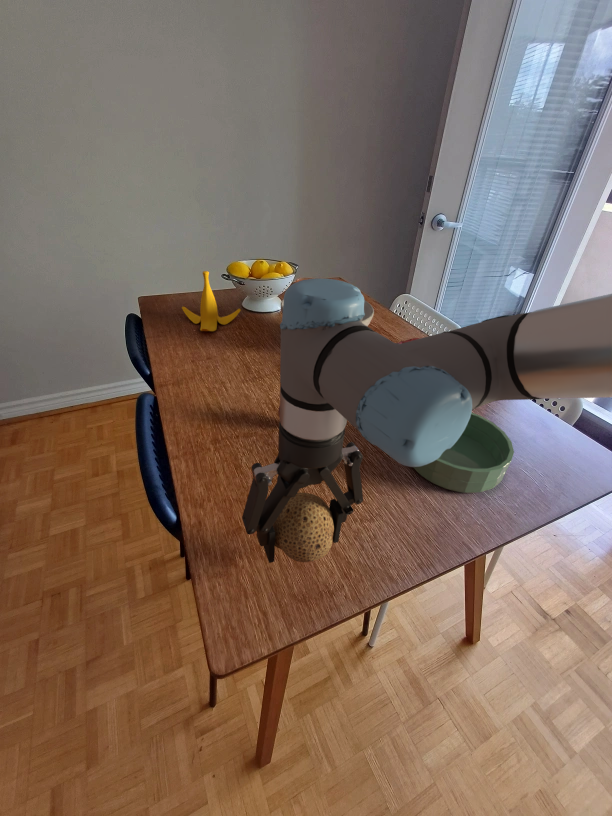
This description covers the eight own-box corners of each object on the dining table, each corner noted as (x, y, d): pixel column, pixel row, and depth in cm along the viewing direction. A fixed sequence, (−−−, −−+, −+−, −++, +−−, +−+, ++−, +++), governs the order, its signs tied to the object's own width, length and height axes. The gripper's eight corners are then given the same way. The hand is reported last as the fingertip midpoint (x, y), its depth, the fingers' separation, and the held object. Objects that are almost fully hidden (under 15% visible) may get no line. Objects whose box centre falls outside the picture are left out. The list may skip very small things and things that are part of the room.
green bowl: (524, 480, 78) (536, 458, 74) (442, 505, 71) (451, 482, 68) (459, 422, 92) (466, 400, 89) (386, 438, 86) (391, 416, 82)
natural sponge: (344, 560, 58) (352, 515, 52) (291, 589, 54) (294, 544, 48) (310, 516, 64) (315, 472, 58) (260, 540, 60) (260, 494, 54)
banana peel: (183, 315, 132) (177, 264, 122) (241, 317, 133) (239, 266, 123) (172, 337, 118) (164, 281, 108) (237, 339, 120) (234, 284, 110)
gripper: (380, 389, 51) (356, 506, 64) (208, 419, 44) (220, 544, 57) (413, 424, 45) (379, 544, 58) (222, 465, 38) (232, 591, 51)
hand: (301, 544), depth 58 cm, fingers closed on natural sponge, 9 cm apart
